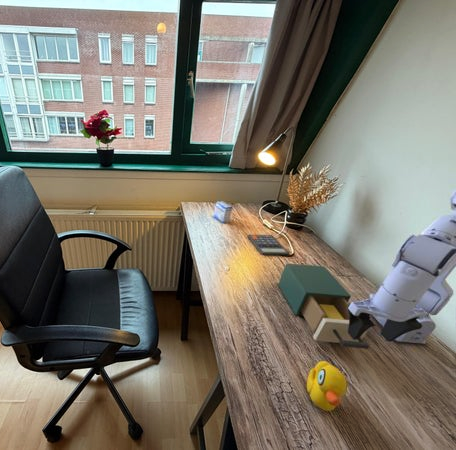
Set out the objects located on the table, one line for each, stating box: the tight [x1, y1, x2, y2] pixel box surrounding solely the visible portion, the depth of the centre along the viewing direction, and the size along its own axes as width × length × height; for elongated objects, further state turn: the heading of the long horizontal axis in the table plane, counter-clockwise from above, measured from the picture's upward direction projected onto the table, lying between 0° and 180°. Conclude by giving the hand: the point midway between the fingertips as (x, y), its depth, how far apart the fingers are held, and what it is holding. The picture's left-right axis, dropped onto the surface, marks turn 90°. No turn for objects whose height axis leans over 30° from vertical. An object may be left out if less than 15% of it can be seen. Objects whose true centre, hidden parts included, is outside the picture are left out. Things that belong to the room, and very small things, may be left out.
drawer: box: [301, 295, 370, 349], centre depth 66 cm, size 17×11×7 cm
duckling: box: [306, 360, 348, 412], centre depth 50 cm, size 11×5×10 cm, turn 151°
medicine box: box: [213, 200, 233, 224], centre depth 127 cm, size 8×4×9 cm, turn 25°
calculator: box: [247, 234, 290, 256], centre depth 108 cm, size 12×1×15 cm
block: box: [319, 304, 344, 320], centre depth 68 cm, size 5×4×4 cm
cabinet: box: [278, 263, 352, 317], centre depth 77 cm, size 14×13×9 cm
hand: (368, 336), depth 55 cm, fingers open, 7 cm apart
